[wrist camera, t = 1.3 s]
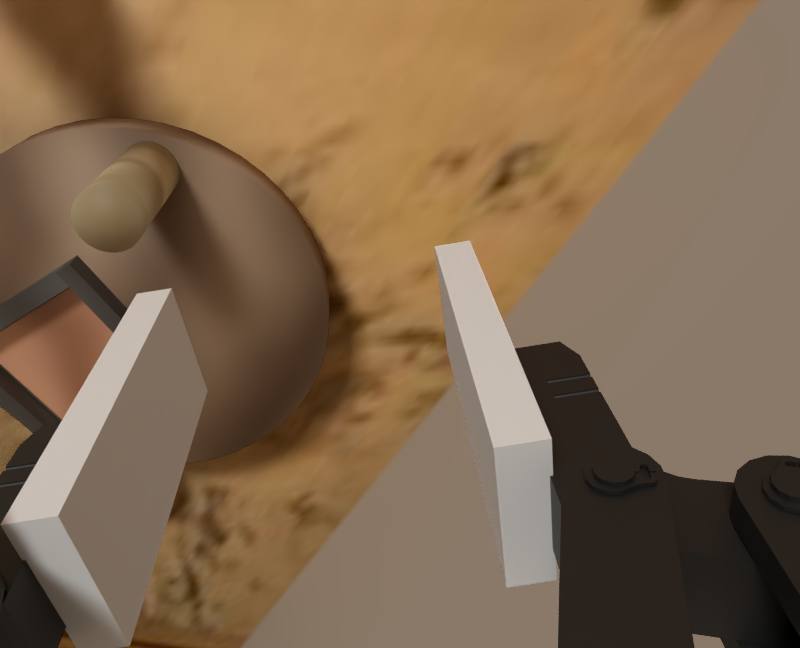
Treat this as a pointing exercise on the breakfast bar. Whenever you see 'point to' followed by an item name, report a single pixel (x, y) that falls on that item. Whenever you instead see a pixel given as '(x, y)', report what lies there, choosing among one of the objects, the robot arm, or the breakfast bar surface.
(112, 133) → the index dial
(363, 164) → the breakfast bar surface
